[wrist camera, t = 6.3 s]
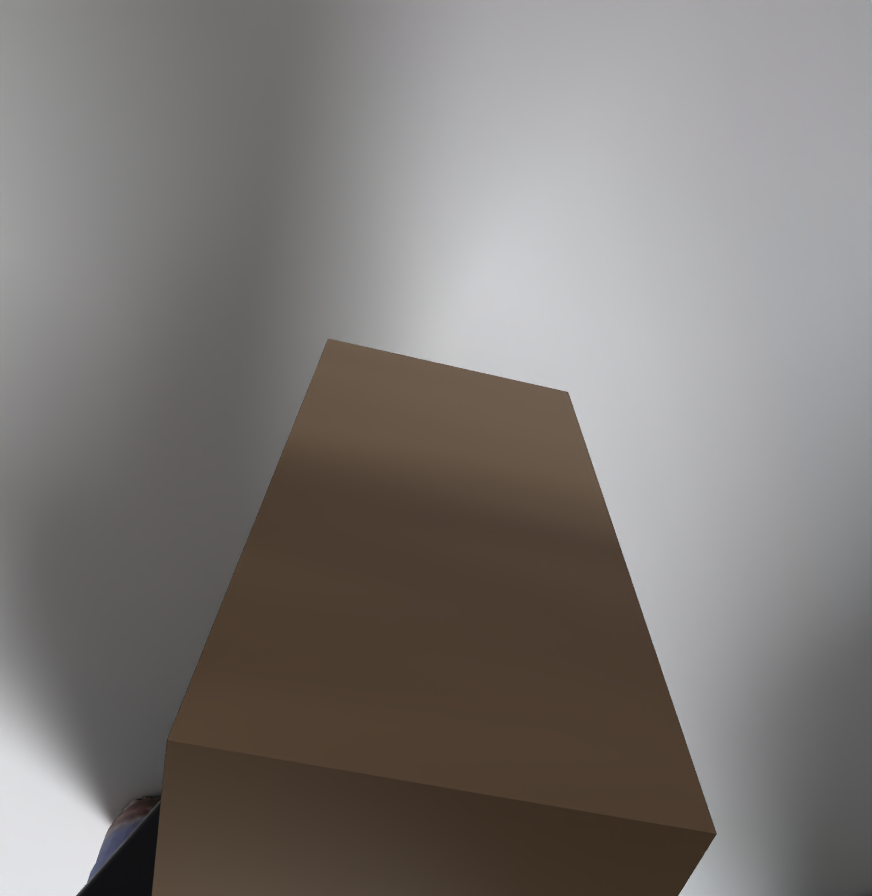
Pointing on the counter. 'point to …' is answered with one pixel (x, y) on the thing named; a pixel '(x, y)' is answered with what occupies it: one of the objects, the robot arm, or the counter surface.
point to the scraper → (429, 665)
